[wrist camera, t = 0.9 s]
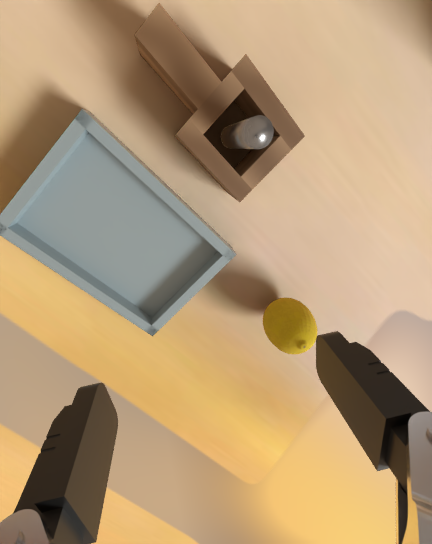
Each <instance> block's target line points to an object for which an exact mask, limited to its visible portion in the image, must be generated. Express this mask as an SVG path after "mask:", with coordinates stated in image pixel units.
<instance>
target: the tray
mask: <svg viewBox="0 0 432 544" xmlns="http://www.w3.org/2000/svg"><path fill="white" fill-rule="evenodd" d="M0 236H2V237H3V238H5V239H7V240H8V241H10V242H11V243H13V244H14V245H16V246H17V247H19V248H20V249H22V250H23V251H25V252H26V253H28V254H29V255H31V256H32V257H34V258H35V259H37V260H38V261H40V262H41V263H43V264H44V265H46V266H47V267H49V268H50V269H52V270H53V271H55V272H56V273H58V274H59V275H61V276H62V277H64V278H65V279H67V280H68V281H70V282H71V283H73V284H74V285H76V286H77V287H79V288H81V289H82V290H84V291H85V292H87V293H88V294H90V295H91V296H93V297H94V298H96V299H97V300H99V301H100V302H102V303H103V304H105V305H106V306H108V307H109V308H111V309H112V310H114V311H115V312H117V313H118V314H120V315H121V316H123V317H124V318H126V319H127V320H129V321H130V322H132V323H133V324H135V325H136V326H138V327H139V328H141V329H142V330H144V331H145V332H147V333H148V334H150V335H151V336H153V335H154V334H155V333H156V332H157V331H158V330H159V329H161V328H162V327H163V326H164V325H165V324H166V323H167V322H168V321H169V320H170V319H171V318H172V317H173V316H174V315H175V314H176V313H177V312H178V311H179V310H180V309H181V308H182V307H183V306H184V305H185V304H186V303H187V302H188V301H189V300H190V299H191V298H192V297H193V296H194V295H195V294H196V293H197V292H199V291H200V290H201V289H202V288H203V287H204V286H205V285H206V284H207V283H208V282H209V281H210V280H211V279H212V278H213V277H214V276H215V275H216V274H217V273H218V272H219V271H220V270H221V269H222V268H223V267H224V266H225V265H226V264H227V263H228V262H229V261H230V260H231V259H232V258H233V257H234V256H236V253H235V252H234V250H233V248H232V247H231V246H230V245H229V244H228V243H227V242H226V241H225V240H224V239H223V238H222V237H221V236H220V235H219V234H217V233H216V232H215V231H214V230H213V229H212V228H211V227H210V226H209V225H208V224H207V223H206V222H205V221H204V220H203V219H202V218H201V217H200V216H199V215H198V214H197V213H195V212H194V211H193V210H192V209H191V208H190V207H189V206H188V205H187V204H186V203H185V202H184V201H183V200H182V199H181V198H180V197H179V196H178V195H177V194H176V193H174V192H173V191H172V190H171V189H170V188H169V187H168V186H167V185H166V184H165V183H164V182H163V181H162V180H161V179H160V178H159V177H158V176H157V175H156V174H155V173H154V172H152V171H151V170H150V169H149V168H148V167H147V166H146V165H145V164H144V163H143V162H142V161H141V160H140V159H139V158H138V157H137V156H136V155H135V154H134V153H133V152H132V151H130V150H129V149H128V148H127V147H126V146H125V145H124V144H123V143H122V142H121V141H120V140H119V139H118V138H117V137H116V136H115V135H114V134H113V133H112V132H111V131H109V130H108V129H107V128H106V127H105V126H104V125H103V124H102V123H101V122H100V121H99V120H98V119H97V118H96V117H95V116H94V115H93V114H92V113H91V112H89V111H87V110H84V109H82V110H81V111H80V112H79V114H78V115H77V116H76V117H75V119H74V120H73V121H72V123H71V124H70V125H69V126H68V128H67V129H66V130H65V132H64V133H63V134H62V135H61V137H60V138H59V139H58V141H57V142H56V143H55V144H54V146H53V147H52V148H51V150H50V151H49V152H48V153H47V155H46V156H45V157H44V159H43V160H42V161H41V163H40V164H39V165H38V166H37V168H36V169H35V170H34V172H33V173H32V174H31V175H30V177H29V178H28V179H27V181H26V182H25V183H24V184H23V186H22V187H21V188H20V190H19V191H18V192H17V193H16V195H15V196H14V197H13V199H12V200H11V201H10V202H9V204H8V205H7V206H6V208H5V209H4V210H3V211H2V213H1V214H0Z"/></svg>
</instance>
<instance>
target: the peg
mask: <svg viewBox="0 0 432 544" xmlns="http://www.w3.org/2000/svg"><path fill="white" fill-rule="evenodd" d="M273 134H274V128H273V125H272V122H271V121H270V120H269V119H268V118H267V117H265V116H262V115H257V116H254V117H251V118H248V119H246V120H243V121H240V122H237V123H234V124H231V125H228V126H226V127H225V128H224V129H223V130H222V133H221V141H222V143H223V145H224V146H225V147H227V148H232V149H262V148H265V147H266V146H267V145H268V144H269V143H270V142H271V140H272V138H273Z"/></svg>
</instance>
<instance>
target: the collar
mask: <svg viewBox="0 0 432 544" xmlns="http://www.w3.org/2000/svg"><path fill="white" fill-rule="evenodd" d="M135 38H136V42H137V45H138V48H139V52H140V55H141V56H142V57H143V58H144V59H145V60H146V61H147V63H148V64H149V65H150V66H151V67H152V68H153V69H154V71H155V72H156V73H157V74H158V75H159V76H160V77H161V79H162V80H163V81H164V82H165V83H166V84H167V85H168V86H169V88H170V89H171V90H172V91H173V92H174V93H175V94H176V96H177V97H178V98H179V99H180V100H181V101H182V102H183V104H184V105H185V106H186V107H187V108H188V109H189V110H190V111H191V113H192V114H193V115H192V116H191V117H190V119H189V120H188V121H187V122H186V123H185V124H184V126H183V127H182V128H181V129H180V130H179V131H178V132H177V134H176V135H175V137H176V138H177V139H178V140H179V141H180V142H181V143H182V145H183V146H184V147H185V148H186V149H187V150H188V151H189V152H190V153H191V154H192V155H193V156H194V157H195V158H196V159H197V160H198V161H199V163H200V164H201V165H202V166H203V167H204V168H205V169H206V170H207V171H208V172H209V173H210V174H211V175H212V176H213V177H214V178H215V179H216V180H217V182H218V183H219V184H220V185H221V186H222V187H223V188H224V189H225V190H226V191H227V192H228V193H229V194H230V195H231V196H232V197H234V198H235V199H236V200H238V201H239V202H241V201H242V200H243V199H244V197H245V196H246V195H247V194H248V193H249V192H250V191H251V190H252V189H253V188H254V187H255V186H256V185H257V184H258V183H259V182H260V181H261V180H262V179H263V178H264V177H265V176H266V175H267V174H268V173H269V172H270V171H271V170H272V169H273V168H274V167H275V166H276V165H277V164H278V163H279V162H280V161H281V160H282V159H283V158H284V157H285V156H286V155H287V154H288V153H289V152H290V151H291V150H292V149H293V148H294V147H295V146H296V145H297V144H298V143H299V142H300V140H301V139H302V138H303V137H304V134H303V133H302V131H301V130H300V129H299V127H298V126H297V124H296V123H295V122H294V120H293V119H292V117H291V116H290V115H289V113H288V112H287V110H286V109H285V108H284V106H283V105H282V103H281V102H280V101H279V99H278V98H277V97H276V95H275V94H274V92H273V91H272V90H271V88H270V87H269V85H268V84H267V83H266V81H265V80H264V78H263V77H262V76H261V74H260V73H259V71H258V70H257V69H256V67H255V66H254V64H253V63H252V62H251V60H250V59H249V58H248V56H247V55H246V54H245V56H244V57H243V58H242V59H241V60H240V61H239V62H238V64H237V65H236V66H235V67H234V68H233V69H232V70H231V72H230V73H229V74H228V75H227V76H226V77H225V78H224V80H223V81H222V82H221V81H220V79H219V78H218V77H217V75H216V74H215V73H214V72H213V70H212V69H211V68H210V67H209V65H208V64H207V63H206V62H205V60H204V59H203V58H202V56H201V55H200V54H199V53H198V51H197V50H196V49H195V48H194V46H193V45H192V44H191V42H190V41H189V40H188V39H187V37H186V36H185V35H184V34H183V32H182V31H181V30H180V29H179V27H178V26H177V25H176V23H175V22H174V21H173V20H172V18H171V17H170V16H169V15H168V13H167V12H166V11H165V10H164V8H163V7H162V6H161V4H160V3H158V5H157V6H156V7H155V9H154V10H153V11H152V13H151V14H150V15H149V16H148V18H147V19H146V20H145V22H144V23H143V24H142V26H141V27H140V28H139V29H138V31H137V32H136V33H135ZM233 101H235V102H236V103H237V104H238V106H239V107H240V108H241V110H242V111H243V112H244V113H245V115H246V116H247V117H248V118H251V117H254V116H257V115H262V116H265V117H267V118H268V119H269V120H270V121H271V122H272V125H273V128H274V134H273V138H272V140H271V142H270V143H269V144H268V145H267V146H266V147H265V148H262V149H252V150H251V151H250V152H249V153H248V154H247V155H246V156H245V157H244V158H243V160H242V161H241V162H240V163H239V164H238V165H237V166H236V167H235V168H234V169H233V167H232V166H231V165H230V164H229V163H228V162H227V161H226V160H225V159H224V157H223V156H222V155H221V154H220V153H219V152H218V151H217V150H216V148H215V147H214V146H213V145H212V144H211V143H210V142H209V141H208V139H207V138H206V137H205V136H204V135H203V134H204V133H205V132H206V131H207V130H208V129H209V127H210V126H211V125H212V124H213V123H214V122H215V121H216V120H217V119H218V117H219V116H220V115H221V114H222V113H223V112H224V111H225V110H226V109H227V107H228V106H229V105H230V104H231V103H232V102H233Z"/></svg>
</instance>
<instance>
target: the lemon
mask: <svg viewBox="0 0 432 544" xmlns="http://www.w3.org/2000/svg"><path fill="white" fill-rule="evenodd" d="M263 326H264V330H265V333H266V335H267V337H268V338H269V340H270V341H271V342H272V343H273V344H274V345H275V346H276V347H277V348H278V349H279V350H281V351H283V352H285V353H288V354H300V353H303V352H305V351H307V350H308V349H310V348H311V347H312V346H313V344H314V343H315V340H316V338H317V326H316V322H315V319H314V317H313V315H312V314H311V312H310V311H309V309H308V308H307V307H306V306H305V305H303V304H302V303H301V302H299V301H297V300H295V299H292V298H280V299H277V300H275V301H273V302H272V303H270V304H269V305H268V307H267V308H266V310H265V312H264V315H263Z"/></svg>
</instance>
